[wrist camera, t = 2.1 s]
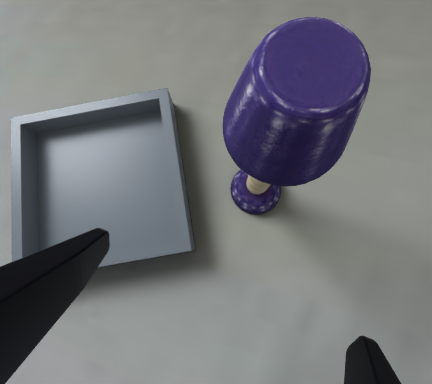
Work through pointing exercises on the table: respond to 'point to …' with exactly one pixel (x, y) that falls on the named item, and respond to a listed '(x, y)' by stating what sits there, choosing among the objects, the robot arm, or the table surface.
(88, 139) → the desk tray
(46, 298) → the robot arm
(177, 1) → the table surface
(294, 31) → the toy lamp
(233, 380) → the table surface
